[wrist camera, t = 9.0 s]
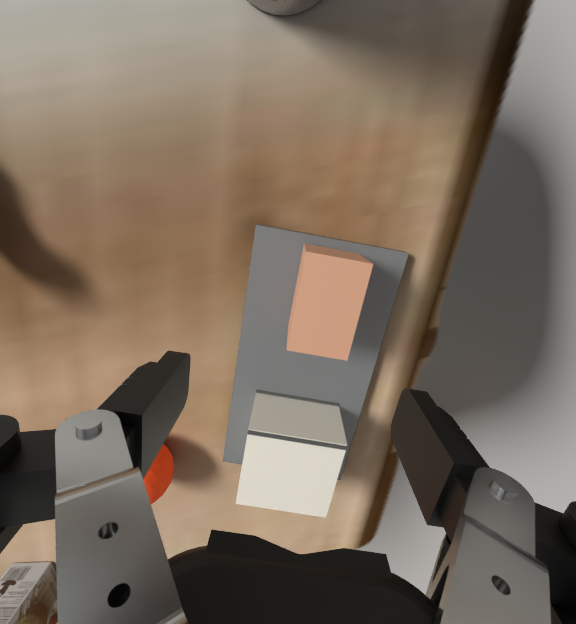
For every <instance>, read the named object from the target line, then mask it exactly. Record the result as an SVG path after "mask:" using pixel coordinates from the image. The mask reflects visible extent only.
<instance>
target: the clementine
mask: <svg viewBox="0 0 576 624" xmlns="http://www.w3.org/2000/svg"><path fill="white" fill-rule="evenodd" d="M173 472H174V461H173V457H172V454H171V452H170V450H169V449H168V448H167V446H166V445H164V444H163V445H162V447H161V449H160V451H159V452H158V454H157V456H156V458H155V460H154V461H153V463H152V465H151V467H150V469H149V470H148V472H147V474H146V476H145V477H144V479H143V481H144V484H145V487H146V491H147V494H148V497H149V500H150V504H152V503H154V502H155V501H156V500H157V499H159V498H160V497H161V496H162V495H163V494H164V492H165V491H166V489H167V488H168V486H169V485H170V483H171V480H172V476H173Z"/></svg>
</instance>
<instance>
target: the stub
mask: <svg viewBox="0 0 576 624" xmlns="http://www.w3.org/2000/svg"><path fill="white" fill-rule="evenodd" d="M372 267H373V263H371V262H370V261H369V260H367V259H366V258H364V257H363V256H361V255H360V254H359V253H353V252H348V251H343V250H337V249H332V248H326V247H321V246H316V245H310V244H305V243H304V246H303V251H302V256H301V261H300V267H299V272H298V277H297V282H296V287H295V293H294V298H293V303H292V308H291V313H290V319H289V324H288V336H287V350H288V351H294V352H299V353H305V354H311V355H317V356H322V357H328V358H334V359H340V360H346V361H347V360H348V356H349V353H350V349H351V345H352V342H353V338H354V334H355V330H356V327H357V323H358V319H359V316H360V312H361V308H362V304H363V301H364V297H365V293H366V290H367V286H368V282H369V278H370V275H371V271H372Z"/></svg>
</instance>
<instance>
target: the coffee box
mask: <svg viewBox="0 0 576 624" xmlns="http://www.w3.org/2000/svg"><path fill="white" fill-rule="evenodd" d="M57 622H58V612H57V573H56V571H55V568H54V566H53V564H52V562H31V563H12V564H11V565H10V567H9V568H8V569H7V570H6V572H5V573H4V574H3V575H2V577H1V578H0V624H57Z"/></svg>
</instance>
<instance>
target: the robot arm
mask: <svg viewBox="0 0 576 624" xmlns="http://www.w3.org/2000/svg"><path fill="white" fill-rule="evenodd" d="M248 1H249V2H250V3H251V4H253V5H254V6H256V7H257V8H259V9H260V10H262V11H265V12H268V13H271V14H273V15H285V16H287V15H292V14H297V13H300V12H303V11H305V10H307V9H309V8H311V7H312V6H314V5H315V4H316V3H317V2H319V1H320V0H248ZM189 373H190V354H187V353H181V352H174V351H167V352H166V353H165V355H164V356H163V357H162V358H161V359H160V360H159V361H158V362H157V363H156V362H149V363H147V364H145V365H143V366H141V367H138V368H137V369H136V370H135V371H134V372H133V373H132V374H131V375H130V376H129V378H127V379H126V380H125V381H124V382H123V383H122V385H120V386H119V387H118V388H117V389H116V390H115V391H114V392H113V393H112V394H111V395H110V396H109V398H108V399H107V400H106V401H105V402H104V403H103V404H102V405H101V406H100V407H99V408H98V409H97V410H88V411H84V412H80V413H78V414H75V415H73V416H71V417H69V418H67V419H66V420H65V421H63V422H62V423H61V424H60V425H59V426H58V428H57V429H53V430H41V431H29V432H20V429H19V423H18V421H17V420H16V419H15V418H13V417H11V416H7V415H0V553H1V552H2V551H3V549H4V548H5V547H6V546H7V544H8V543H9V542H10V541H11V539H12V538H13V537H14V535H15V534H16V533H17V532H18V530H19V529H20V528H21V527H22V525H23V524H27V523H33V522H39V521H45V520H51V519H55V528H56V570H57V612H58V624H576V502H571V503H570V504H569V506H568V507H567V509H566V510H565V512H564V514H563V513H560V512H558V511H555V510H553V509H550V508H547V507H545V506H542V505H540V504H537V503H534V500H533V498H532V496H531V495H530V494H529V493H528V491H527V490H526V489H525V488H524V487H523V486H522V485H521V484H520V483H518V482H517V481H516V480H515V479H513V478H512V477H510V476H508V475H507V474H505V473H503V472H500V471H498V470H496V469H492V468H490V467H489V466H488V465H487V463H486V462H485V461H484V460H483V458H482V457H481V455H480V454H479V453H478V451H477V450H476V448H475V447H474V446H473V444H472V443H471V442H470V440H469V439H467V436H466V435H465V434H464V432H463V431H462V430H460V427H459V426H458V425H457V423H456V422H455V420H454V419H453V418H452V417H451V416H450V415H449V414H448V413H446V412H445V411H444V410H443V409H442V408H440V407H437V405H436V404H435V403H434V401H433V399H432V398H431V397H430V395H429V394H428V393H427V392H426V391H420V390H413V389H407V388H406V389H404V390H403V391H402V393H401V396H400V399H399V402H398V405H397V408H396V411H395V414H394V417H393V420H392V424H391V438H392V441H393V443H394V446H395V448H396V451H397V453H398V455H399V458H400V460H401V463H402V465H403V468H404V470H405V472H406V475H407V477H408V480H409V482H410V485H411V487H412V489H413V492H414V494H415V497H416V499H417V502H418V504H419V506H420V509H421V511H422V514H423V516H424V519H425V521H426V523H427V525H432V526H438V527H444V529H445V531H446V535H445V537H444V539H443V541H442V544H441V547H440V551H439V554H438V557H437V560H436V563H435V566H434V569H433V573H432V576H431V579H430V582H429V586H428V589H427V592H426V595H425V594H423V593H422V592H421V591H420V590H419V589H417V588H416V587H414V586H413V585H412V584H410V583H409V582H408V581H406V580H404V579H403V578H401V577H399V576H397V575H395V574H393V573H391V571H390V567H389V564H388V560H387V556H386V554H380V553H374V552H367V551H360V550H353V549H345V548H342V549H336V550H329V551H323V552H316V553H309V554H297V553H294V552H292V551H289V550H287V549H285V548H282V547H280V546H278V545H275V544H273V543H271V542H268V541H266V540H264V539H261V538H259V537H257V536H253V535H246V534H239V533H232V532H224V531H217V530H211V534H210V537H209V541H208V545H207V546H202V547H197V548H194V549H190V550H187V551H184V552H182V553H180V554H177V555H175V556H173V557H172V558H170V559H167V556H166V553H165V550H164V546H163V543H162V540H161V537H160V533H159V530H158V527H157V523H156V520H155V517H154V514H153V510H152V507H151V504H150V500H149V497H148V494H147V491H146V487H145V484H144V481H143V479H144V477H145V476H146V474H147V472H148V470H149V469H150V467H151V465H152V463H153V461H154V460H155V458H156V456H157V454H158V452H159V451H160V449H161V447H162V445H163V444H164V442H165V440H166V438H167V436H168V435H169V433H170V431H171V429H172V428H173V426H174V424H175V422H176V420H177V419H178V417H179V415H180V413H181V411H182V410H183V408H184V406H185V403H186V400H187V396H188V388H189Z"/></svg>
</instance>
